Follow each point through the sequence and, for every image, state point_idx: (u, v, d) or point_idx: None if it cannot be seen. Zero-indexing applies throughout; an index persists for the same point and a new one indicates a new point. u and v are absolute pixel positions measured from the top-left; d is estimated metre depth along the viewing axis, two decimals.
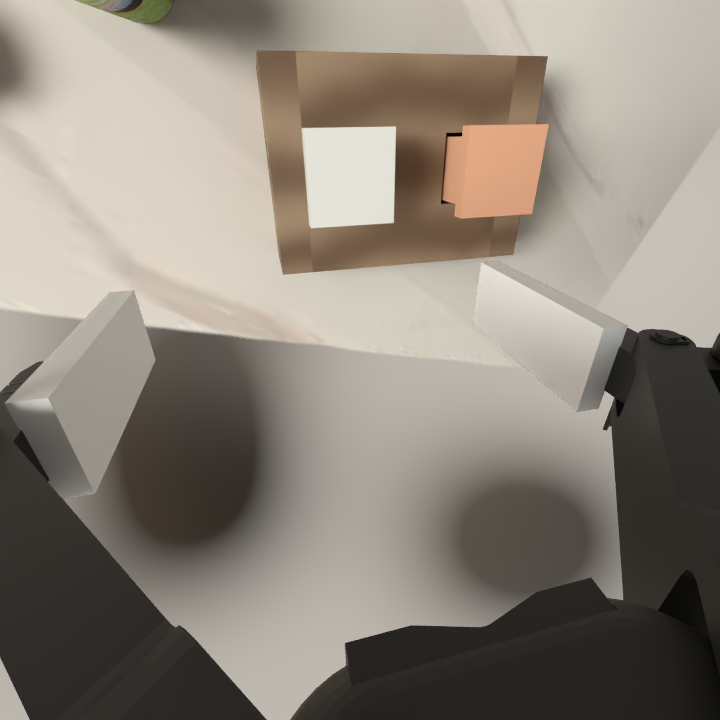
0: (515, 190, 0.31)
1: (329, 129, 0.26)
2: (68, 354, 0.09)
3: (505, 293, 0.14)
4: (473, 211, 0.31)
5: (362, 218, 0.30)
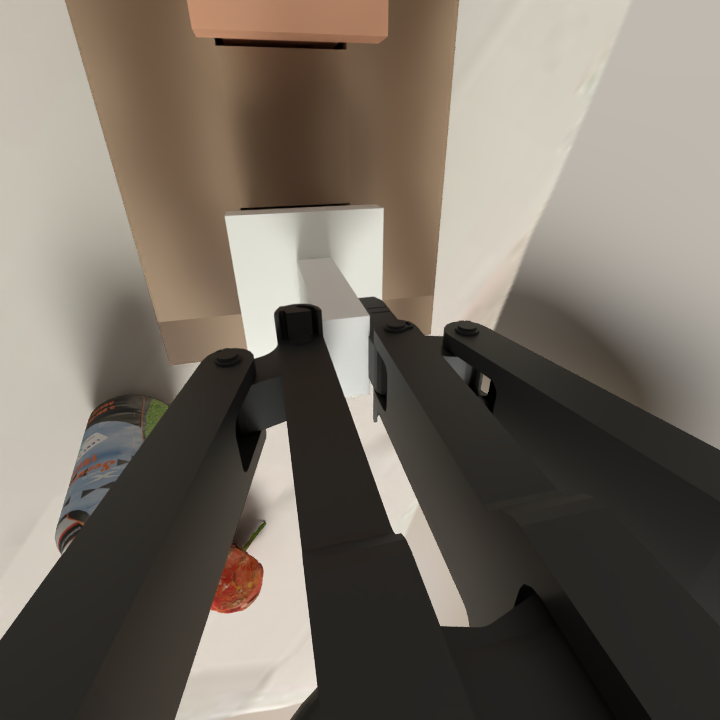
0: None
1: (246, 325, 0.17)
2: (323, 296, 0.13)
3: None
4: None
5: (372, 267, 0.18)
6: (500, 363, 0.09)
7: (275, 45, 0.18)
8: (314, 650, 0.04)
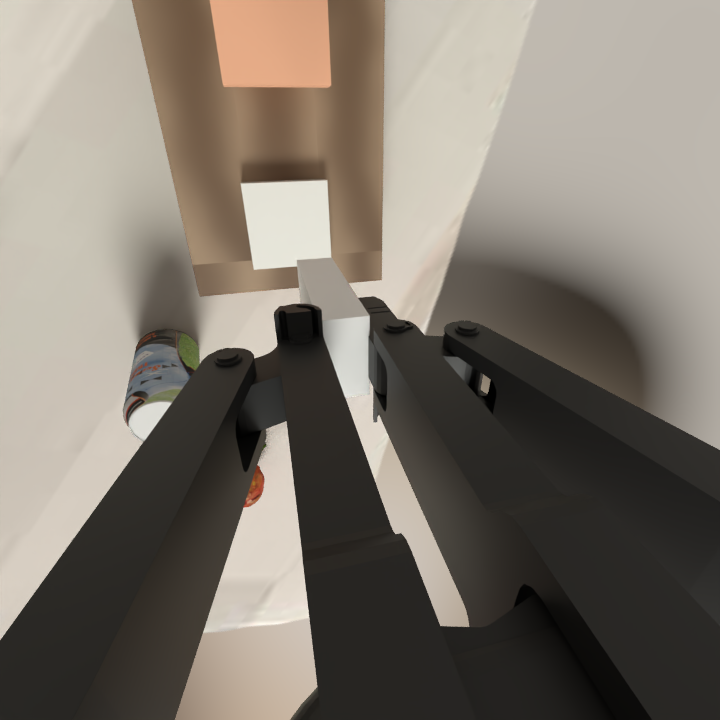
0: None
1: (251, 247, 0.31)
2: (323, 296, 0.13)
3: None
4: (322, 64, 0.23)
5: (323, 214, 0.31)
6: (500, 363, 0.09)
7: None
8: (314, 650, 0.04)
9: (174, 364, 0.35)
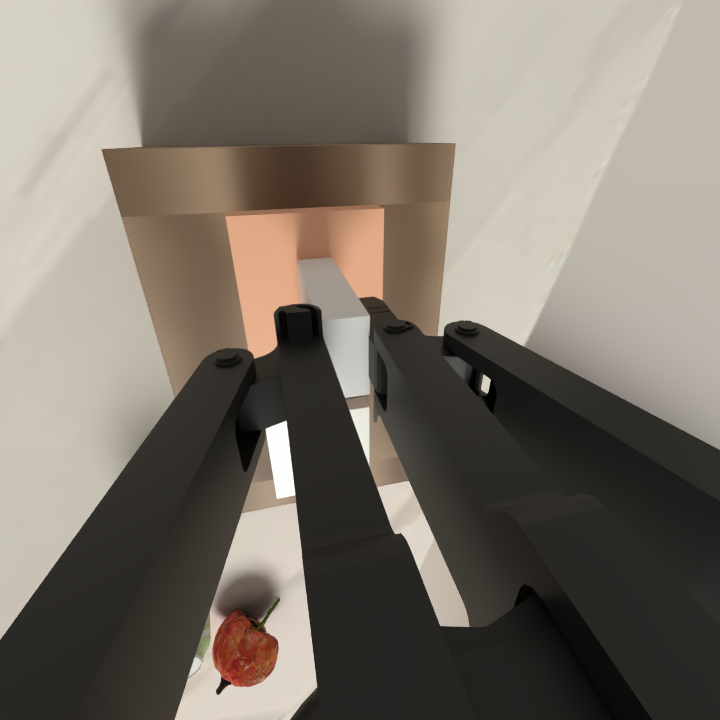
0: (341, 257, 0.17)
1: (275, 479, 0.25)
2: (322, 296, 0.13)
3: None
4: None
5: (362, 439, 0.26)
6: (500, 363, 0.09)
7: None
8: (314, 650, 0.04)
9: None
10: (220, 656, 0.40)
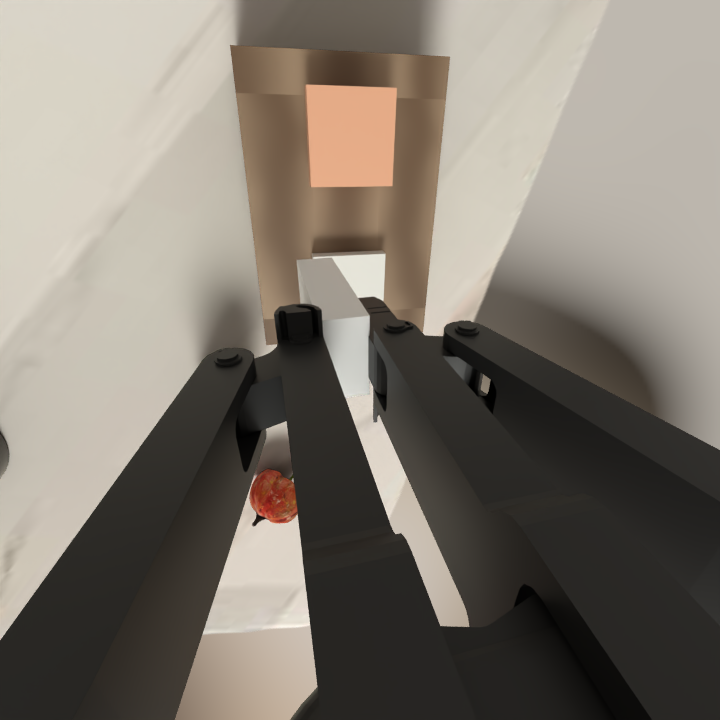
0: (370, 118, 0.28)
1: None
2: (323, 296, 0.13)
3: None
4: (387, 171, 0.30)
5: (379, 281, 0.36)
6: (500, 363, 0.09)
7: None
8: (314, 650, 0.04)
9: None
10: (257, 494, 0.50)
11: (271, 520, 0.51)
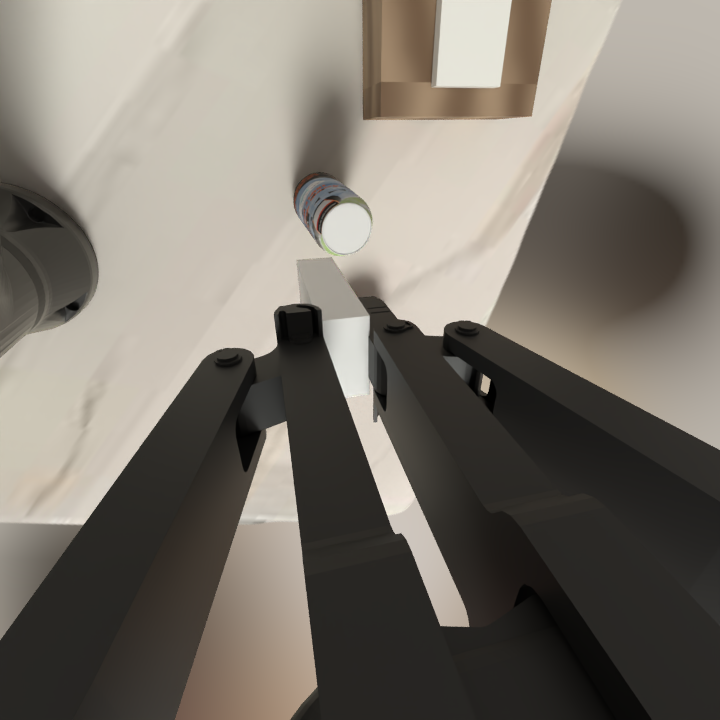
0: None
1: (439, 62, 0.35)
2: (323, 296, 0.13)
3: None
4: None
5: (502, 33, 0.35)
6: (500, 363, 0.09)
7: None
8: (314, 650, 0.04)
9: None
10: None
11: None
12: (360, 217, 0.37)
